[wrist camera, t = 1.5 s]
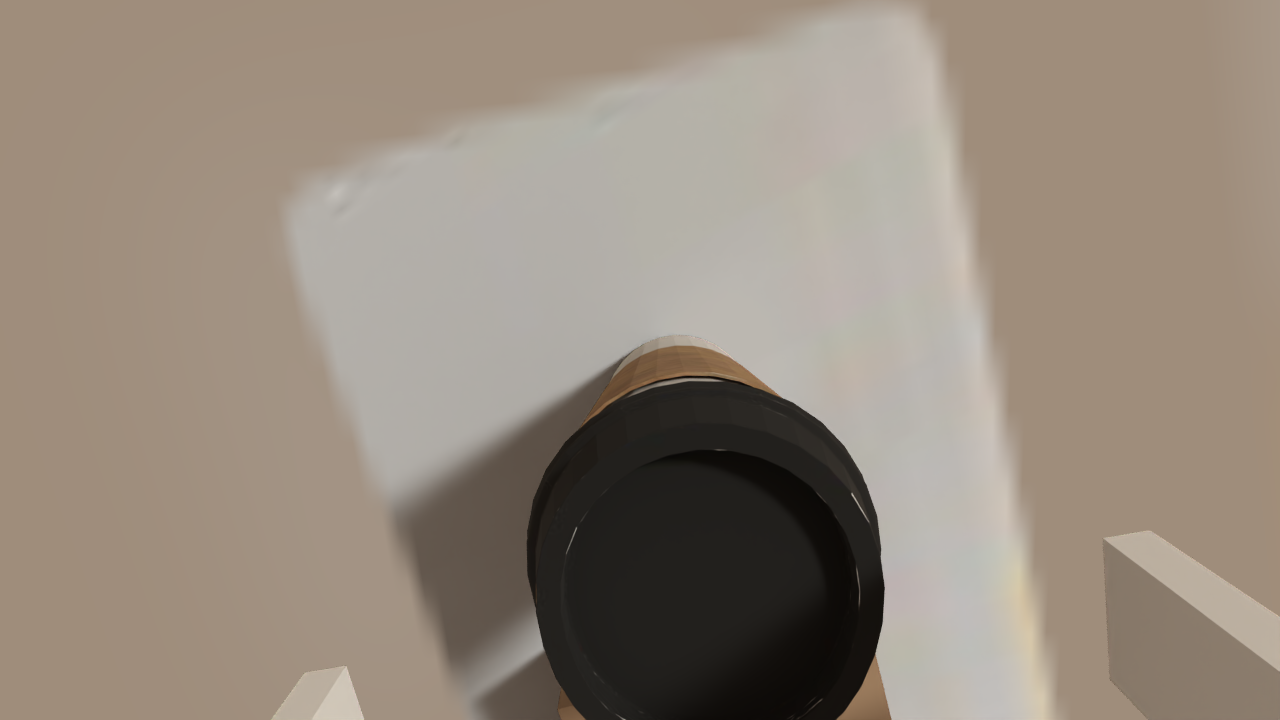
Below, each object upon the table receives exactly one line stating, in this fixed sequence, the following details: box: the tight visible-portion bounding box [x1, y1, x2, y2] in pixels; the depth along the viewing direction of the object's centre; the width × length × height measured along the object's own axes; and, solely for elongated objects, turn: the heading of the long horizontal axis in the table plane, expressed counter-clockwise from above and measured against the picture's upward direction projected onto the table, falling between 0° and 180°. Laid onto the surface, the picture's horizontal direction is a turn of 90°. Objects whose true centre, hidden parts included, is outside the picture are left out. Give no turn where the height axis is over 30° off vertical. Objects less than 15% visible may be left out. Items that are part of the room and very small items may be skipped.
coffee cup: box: [527, 335, 885, 720], centre depth 22 cm, size 8×8×15 cm
